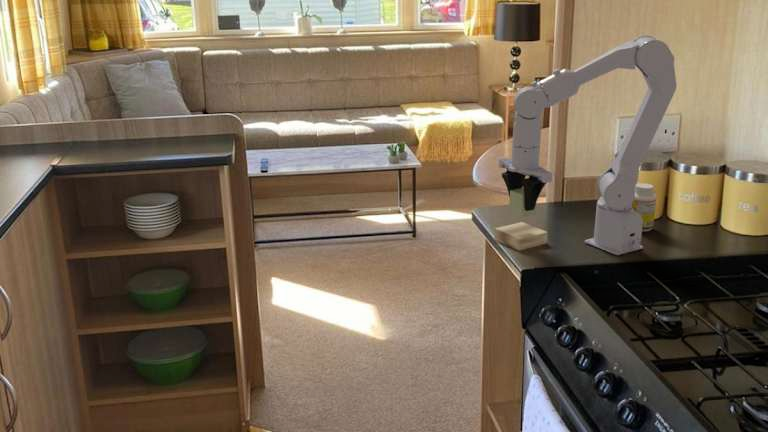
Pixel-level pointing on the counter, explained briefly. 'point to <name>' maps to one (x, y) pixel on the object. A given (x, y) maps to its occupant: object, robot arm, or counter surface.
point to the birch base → (520, 236)
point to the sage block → (519, 204)
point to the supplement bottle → (645, 204)
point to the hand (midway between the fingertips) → (522, 207)
